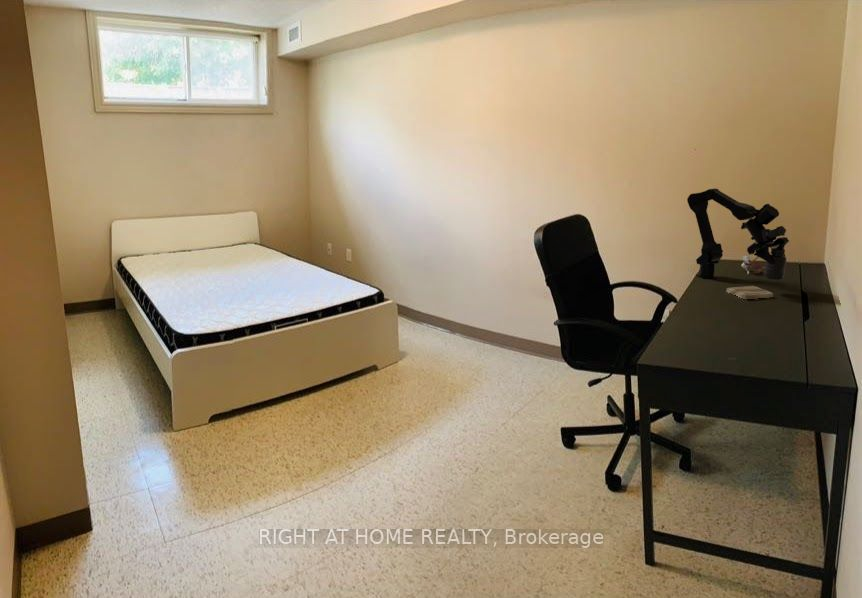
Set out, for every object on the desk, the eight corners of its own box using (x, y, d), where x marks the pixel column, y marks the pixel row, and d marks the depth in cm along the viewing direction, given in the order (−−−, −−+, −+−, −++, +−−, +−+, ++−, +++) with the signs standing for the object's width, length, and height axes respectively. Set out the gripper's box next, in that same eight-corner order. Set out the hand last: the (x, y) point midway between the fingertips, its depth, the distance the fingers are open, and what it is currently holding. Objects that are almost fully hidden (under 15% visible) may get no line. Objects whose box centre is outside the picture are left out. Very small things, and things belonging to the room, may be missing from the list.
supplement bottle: (786, 280, 240) (790, 251, 237) (767, 279, 241) (771, 250, 238) (780, 275, 246) (784, 247, 243) (762, 275, 248) (766, 247, 244)
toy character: (757, 282, 278) (735, 271, 276) (752, 272, 284) (731, 261, 283) (773, 266, 271) (750, 255, 270) (768, 256, 278) (746, 245, 277)
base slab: (726, 292, 249) (726, 287, 249) (752, 290, 251) (753, 285, 250) (745, 300, 238) (745, 295, 237) (772, 298, 239) (773, 292, 239)
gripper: (757, 222, 237) (779, 254, 230) (788, 217, 244) (810, 248, 238) (737, 238, 246) (758, 269, 239) (767, 233, 253) (788, 263, 247)
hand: (779, 262), depth 241 cm, fingers closed on supplement bottle, 7 cm apart
